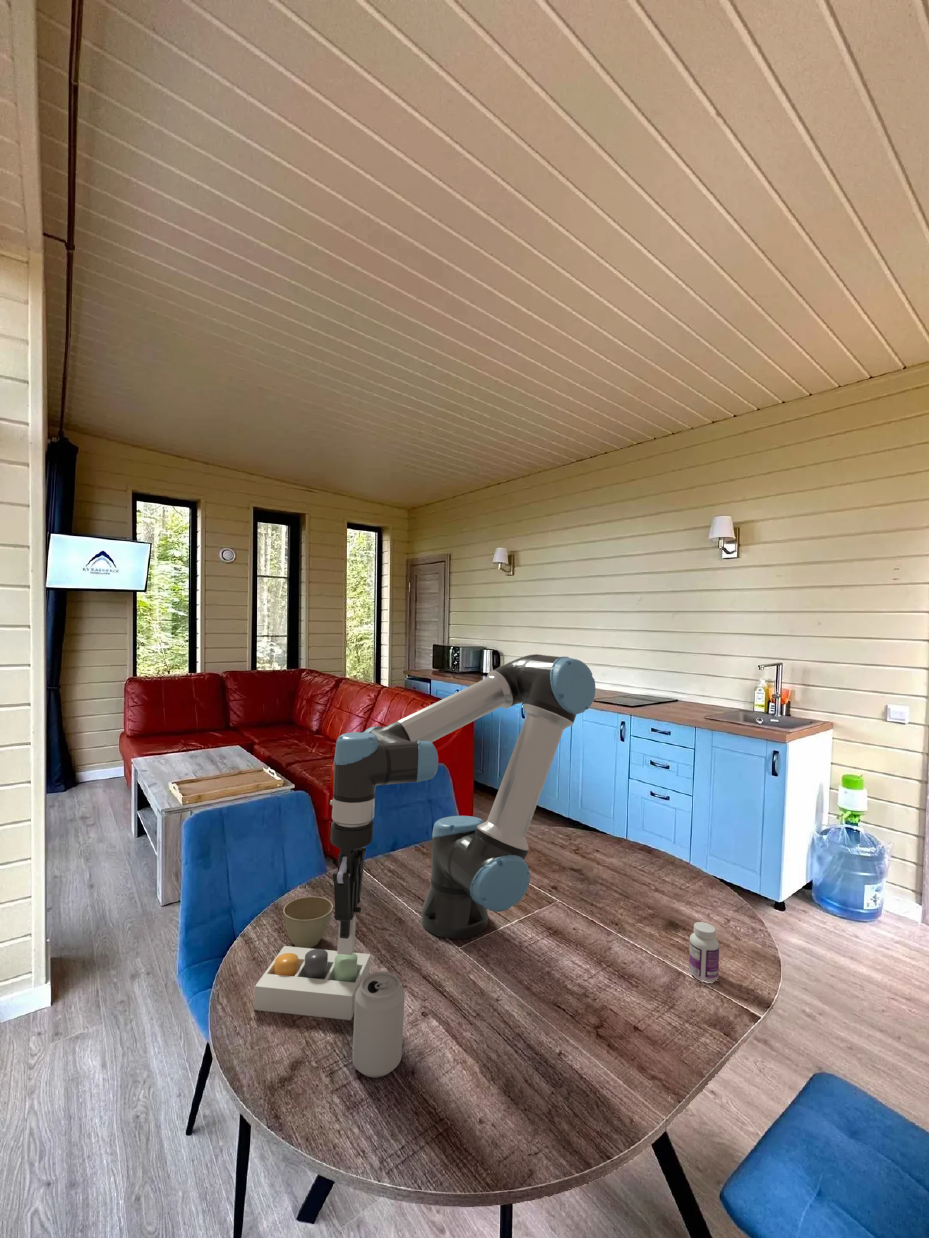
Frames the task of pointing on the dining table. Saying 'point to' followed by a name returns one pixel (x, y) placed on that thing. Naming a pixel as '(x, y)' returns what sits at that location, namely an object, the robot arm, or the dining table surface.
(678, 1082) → the dining table surface
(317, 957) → the black button
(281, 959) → the orange rounded piece
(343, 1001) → the white compartment box
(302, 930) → the flower pot
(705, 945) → the pill bottle
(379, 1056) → the can
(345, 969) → the green button
